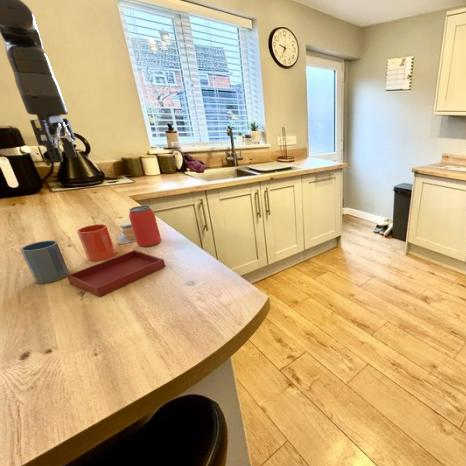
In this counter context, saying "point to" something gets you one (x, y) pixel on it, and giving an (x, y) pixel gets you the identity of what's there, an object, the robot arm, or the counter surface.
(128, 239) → the stacked layers on plate
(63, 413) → the counter surface
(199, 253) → the counter surface
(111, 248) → the red cup
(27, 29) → the robot arm
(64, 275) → the blue cup
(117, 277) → the red tray
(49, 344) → the counter surface
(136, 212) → the beer can
